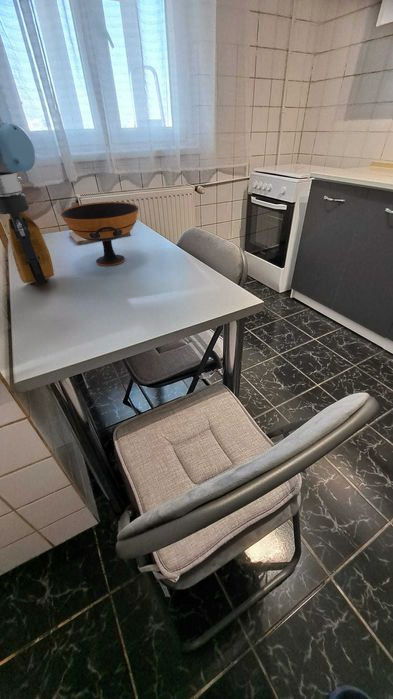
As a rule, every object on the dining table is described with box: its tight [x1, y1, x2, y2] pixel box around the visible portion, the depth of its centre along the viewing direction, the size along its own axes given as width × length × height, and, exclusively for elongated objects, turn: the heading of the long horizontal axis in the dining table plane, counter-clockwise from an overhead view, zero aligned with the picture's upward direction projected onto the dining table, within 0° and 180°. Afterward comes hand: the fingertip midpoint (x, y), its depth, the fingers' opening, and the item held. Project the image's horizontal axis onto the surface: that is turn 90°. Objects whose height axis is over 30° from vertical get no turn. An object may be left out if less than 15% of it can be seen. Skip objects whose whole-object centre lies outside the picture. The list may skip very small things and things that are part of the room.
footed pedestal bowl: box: [59, 201, 140, 267], centre depth 104 cm, size 36×26×18 cm
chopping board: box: [68, 231, 131, 246], centre depth 136 cm, size 24×16×2 cm, turn 121°
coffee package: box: [8, 211, 55, 284], centre depth 88 cm, size 10×12×22 cm
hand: (41, 283), depth 87 cm, fingers closed
